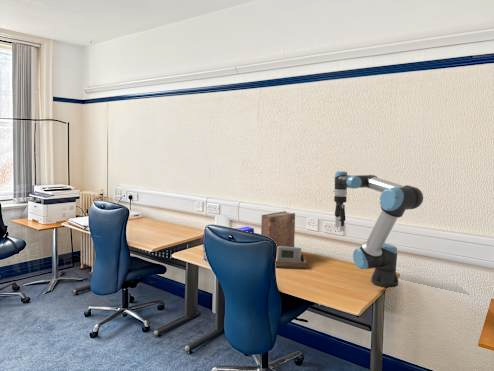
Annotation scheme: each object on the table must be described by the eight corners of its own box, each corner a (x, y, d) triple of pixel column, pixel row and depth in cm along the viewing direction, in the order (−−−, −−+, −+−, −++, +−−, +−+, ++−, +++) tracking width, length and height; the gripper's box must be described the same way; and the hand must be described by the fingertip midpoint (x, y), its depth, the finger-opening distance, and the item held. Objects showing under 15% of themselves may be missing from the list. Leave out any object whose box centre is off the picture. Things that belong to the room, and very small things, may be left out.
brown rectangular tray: (306, 268, 246) (306, 262, 245) (273, 267, 247) (273, 261, 247) (304, 260, 263) (304, 254, 262) (273, 259, 264) (273, 253, 264)
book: (284, 250, 287) (286, 211, 283) (294, 252, 280) (295, 213, 276) (260, 256, 270) (261, 215, 267) (269, 259, 263) (270, 217, 260)
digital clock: (275, 263, 253) (275, 247, 252) (279, 259, 262) (279, 244, 260) (299, 266, 248) (299, 250, 246) (302, 262, 256) (302, 247, 255)
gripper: (330, 193, 251) (329, 225, 253) (338, 198, 227) (337, 233, 228) (342, 193, 251) (341, 225, 253) (351, 198, 226) (350, 233, 228)
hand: (339, 229), depth 241 cm, fingers open, 13 cm apart
